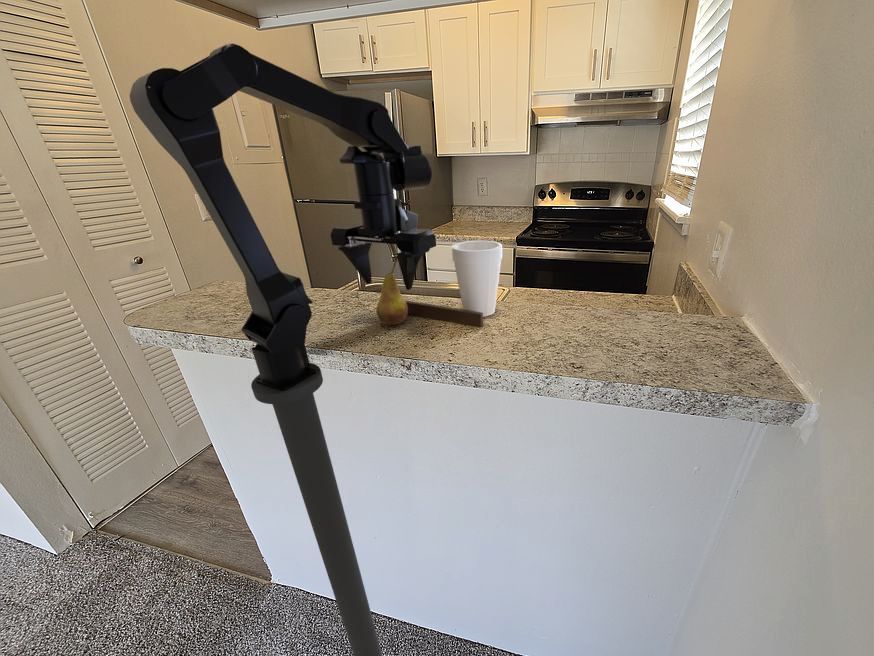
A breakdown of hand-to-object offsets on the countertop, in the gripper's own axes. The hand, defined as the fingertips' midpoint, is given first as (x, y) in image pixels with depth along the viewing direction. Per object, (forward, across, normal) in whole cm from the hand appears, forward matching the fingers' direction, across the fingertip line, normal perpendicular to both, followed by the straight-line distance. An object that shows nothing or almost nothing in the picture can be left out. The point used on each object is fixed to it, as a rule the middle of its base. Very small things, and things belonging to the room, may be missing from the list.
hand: (388, 286), depth 73 cm
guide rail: (+7, -6, -6) cm, 11 cm away
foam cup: (+8, -12, -12) cm, 19 cm away
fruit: (+8, 0, 0) cm, 8 cm away
